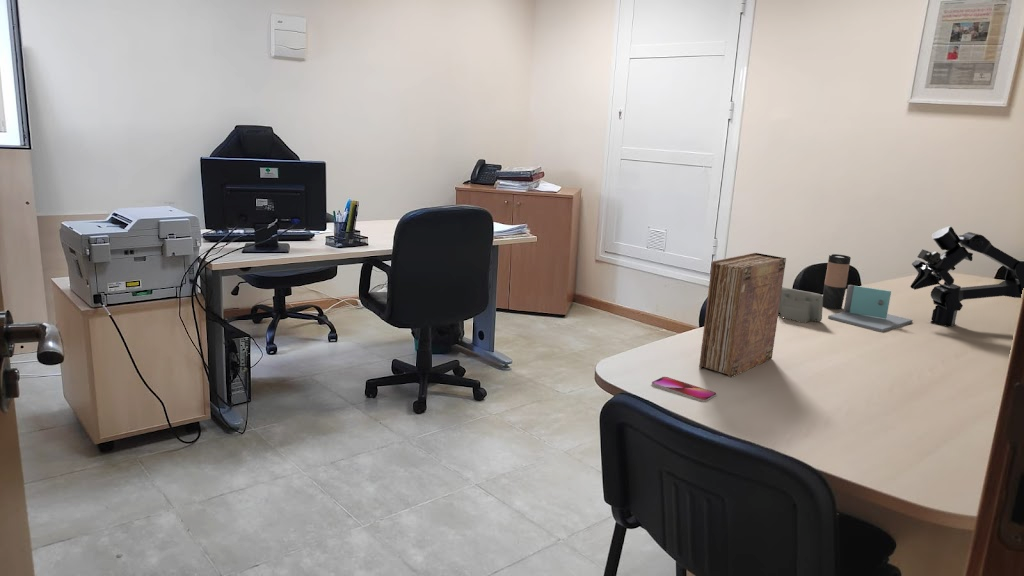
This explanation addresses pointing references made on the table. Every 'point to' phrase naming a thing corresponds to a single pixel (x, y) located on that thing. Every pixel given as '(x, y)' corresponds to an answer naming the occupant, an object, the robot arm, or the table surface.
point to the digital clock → (800, 305)
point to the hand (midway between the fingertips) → (912, 288)
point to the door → (867, 301)
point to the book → (741, 312)
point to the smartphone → (683, 389)
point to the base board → (871, 321)
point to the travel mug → (835, 281)
